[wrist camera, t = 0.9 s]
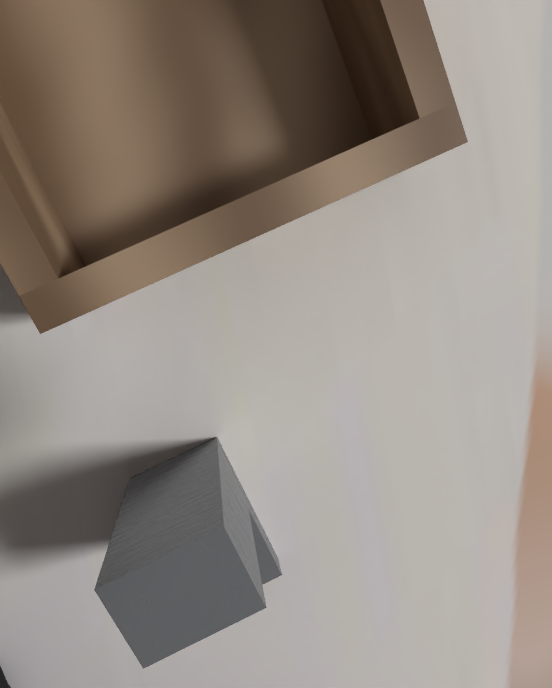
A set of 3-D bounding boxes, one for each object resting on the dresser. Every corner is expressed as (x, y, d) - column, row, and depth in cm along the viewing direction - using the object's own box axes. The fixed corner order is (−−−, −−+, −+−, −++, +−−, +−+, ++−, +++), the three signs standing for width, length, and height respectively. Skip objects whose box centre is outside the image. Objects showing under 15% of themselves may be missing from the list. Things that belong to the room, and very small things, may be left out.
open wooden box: (81, 312, 19) (40, 333, 14) (-112, -45, 16) (-248, -173, 11) (402, 168, 20) (467, 141, 15) (274, -198, 17) (304, -379, 12)
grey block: (197, 597, 22) (194, 751, 15) (130, 478, 21) (94, 589, 14) (277, 558, 22) (310, 692, 16) (216, 437, 21) (224, 527, 14)
